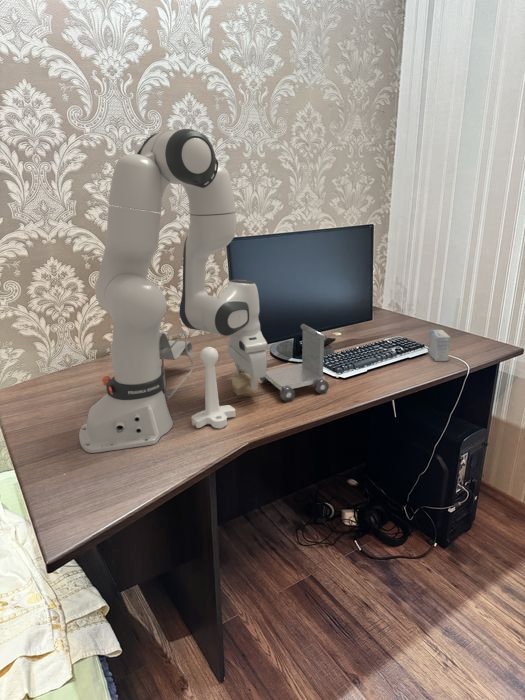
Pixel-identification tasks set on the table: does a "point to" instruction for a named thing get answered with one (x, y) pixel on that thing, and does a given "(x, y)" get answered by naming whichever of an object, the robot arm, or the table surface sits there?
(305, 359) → the cart
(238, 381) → the chock
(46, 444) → the table surface
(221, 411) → the joystick
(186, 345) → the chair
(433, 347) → the medicine box
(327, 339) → the microphone
